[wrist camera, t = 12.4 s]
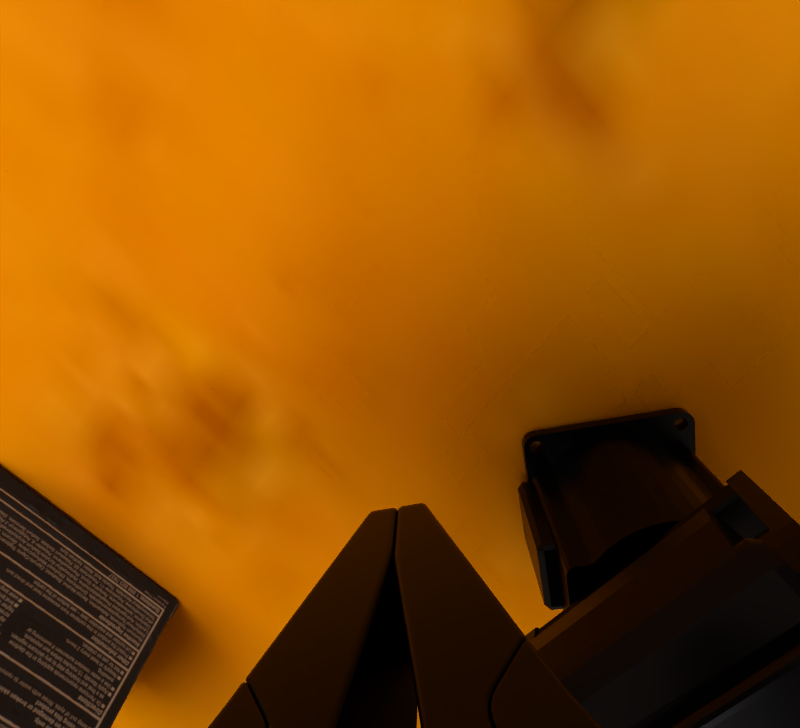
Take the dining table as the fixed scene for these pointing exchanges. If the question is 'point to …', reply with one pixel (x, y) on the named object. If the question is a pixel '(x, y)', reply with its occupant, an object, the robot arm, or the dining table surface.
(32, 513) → the small box
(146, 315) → the dining table surface
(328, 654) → the robot arm
